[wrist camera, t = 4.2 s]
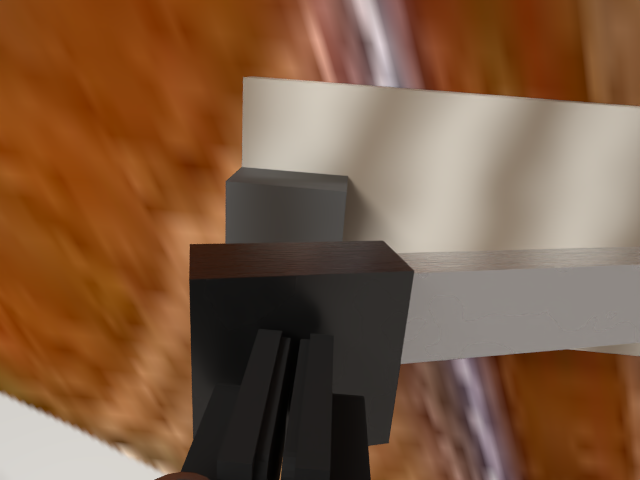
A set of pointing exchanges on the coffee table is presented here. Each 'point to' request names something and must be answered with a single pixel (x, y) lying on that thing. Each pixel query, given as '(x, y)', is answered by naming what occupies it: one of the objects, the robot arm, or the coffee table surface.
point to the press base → (434, 170)
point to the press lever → (400, 309)
